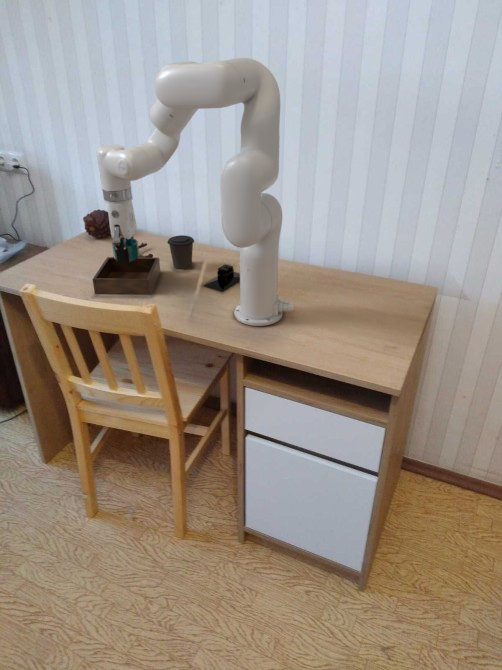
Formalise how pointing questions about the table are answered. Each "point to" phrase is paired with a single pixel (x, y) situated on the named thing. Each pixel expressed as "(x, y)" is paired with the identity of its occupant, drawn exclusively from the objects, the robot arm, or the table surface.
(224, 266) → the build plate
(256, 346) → the table surface
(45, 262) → the table surface
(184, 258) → the coffee cup
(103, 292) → the open wooden box
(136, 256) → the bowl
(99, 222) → the pine cone
